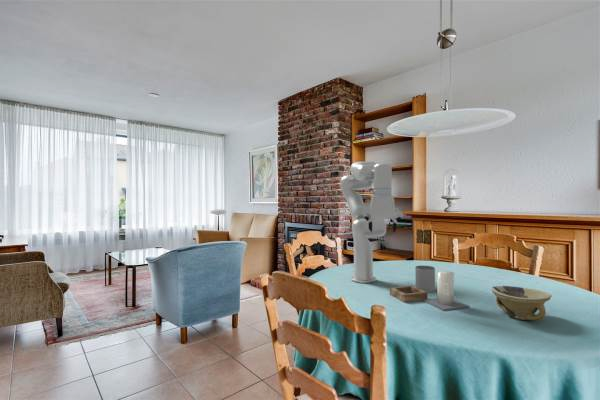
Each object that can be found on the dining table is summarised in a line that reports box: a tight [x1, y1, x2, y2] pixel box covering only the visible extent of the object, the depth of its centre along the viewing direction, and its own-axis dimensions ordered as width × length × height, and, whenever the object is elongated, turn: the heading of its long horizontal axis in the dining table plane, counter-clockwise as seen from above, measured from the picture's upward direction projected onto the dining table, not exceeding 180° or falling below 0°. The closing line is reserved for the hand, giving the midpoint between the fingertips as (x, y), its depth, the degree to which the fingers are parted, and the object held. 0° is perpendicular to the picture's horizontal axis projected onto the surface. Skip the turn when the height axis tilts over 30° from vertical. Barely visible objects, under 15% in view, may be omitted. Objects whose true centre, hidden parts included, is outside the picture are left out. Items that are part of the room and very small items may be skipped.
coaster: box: [422, 297, 470, 312], centre depth 127 cm, size 12×12×1 cm
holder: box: [389, 285, 428, 303], centre depth 137 cm, size 11×11×3 cm
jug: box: [436, 270, 455, 305], centre depth 126 cm, size 8×6×12 cm
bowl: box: [490, 285, 552, 322], centre depth 113 cm, size 18×18×10 cm
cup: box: [415, 265, 436, 293], centre depth 148 cm, size 8×8×10 cm
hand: (382, 231), depth 139 cm, fingers open, 9 cm apart
